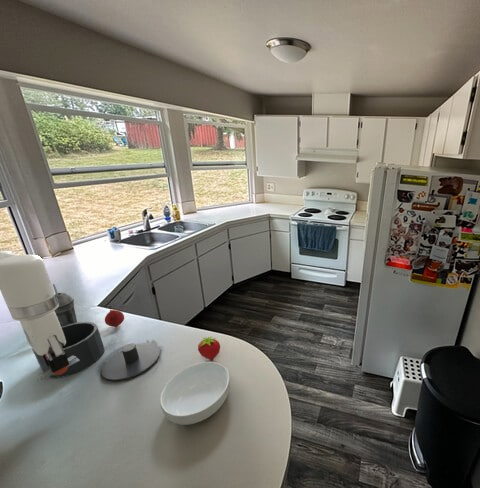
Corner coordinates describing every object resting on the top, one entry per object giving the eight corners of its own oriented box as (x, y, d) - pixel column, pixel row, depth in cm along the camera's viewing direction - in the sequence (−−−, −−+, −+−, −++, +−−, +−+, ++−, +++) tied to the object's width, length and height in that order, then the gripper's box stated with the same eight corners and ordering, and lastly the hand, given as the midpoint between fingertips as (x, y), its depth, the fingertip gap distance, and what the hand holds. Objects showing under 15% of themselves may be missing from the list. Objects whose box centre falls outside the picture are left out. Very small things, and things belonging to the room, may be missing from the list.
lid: (116, 390, 73) (111, 374, 71) (92, 368, 80) (87, 353, 78) (170, 356, 86) (167, 341, 84) (145, 339, 93) (142, 325, 91)
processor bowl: (53, 385, 74) (42, 360, 70) (36, 365, 80) (25, 341, 77) (112, 354, 86) (105, 331, 82) (93, 338, 92) (85, 316, 89)
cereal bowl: (199, 447, 60) (194, 426, 57) (149, 421, 65) (143, 401, 63) (243, 388, 75) (242, 370, 72) (200, 371, 80) (197, 354, 78)
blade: (42, 384, 62) (32, 361, 60) (37, 378, 64) (27, 355, 61) (81, 364, 69) (74, 342, 66) (76, 359, 70) (68, 337, 68)
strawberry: (213, 369, 81) (210, 345, 78) (195, 363, 83) (191, 338, 80) (226, 356, 86) (223, 333, 83) (208, 350, 89) (205, 327, 85)
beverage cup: (80, 320, 101) (64, 276, 95) (85, 328, 97) (69, 282, 91) (54, 330, 96) (36, 284, 89) (59, 338, 92) (40, 290, 85)
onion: (124, 319, 103) (120, 303, 100) (127, 326, 99) (122, 309, 96) (106, 326, 99) (101, 308, 96) (108, 333, 95) (102, 315, 92)
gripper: (0, 302, 60) (26, 361, 66) (22, 326, 53) (50, 390, 59) (44, 289, 66) (65, 344, 72) (69, 309, 59) (90, 369, 65)
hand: (58, 364), depth 66 cm, fingers closed on blade, 2 cm apart
